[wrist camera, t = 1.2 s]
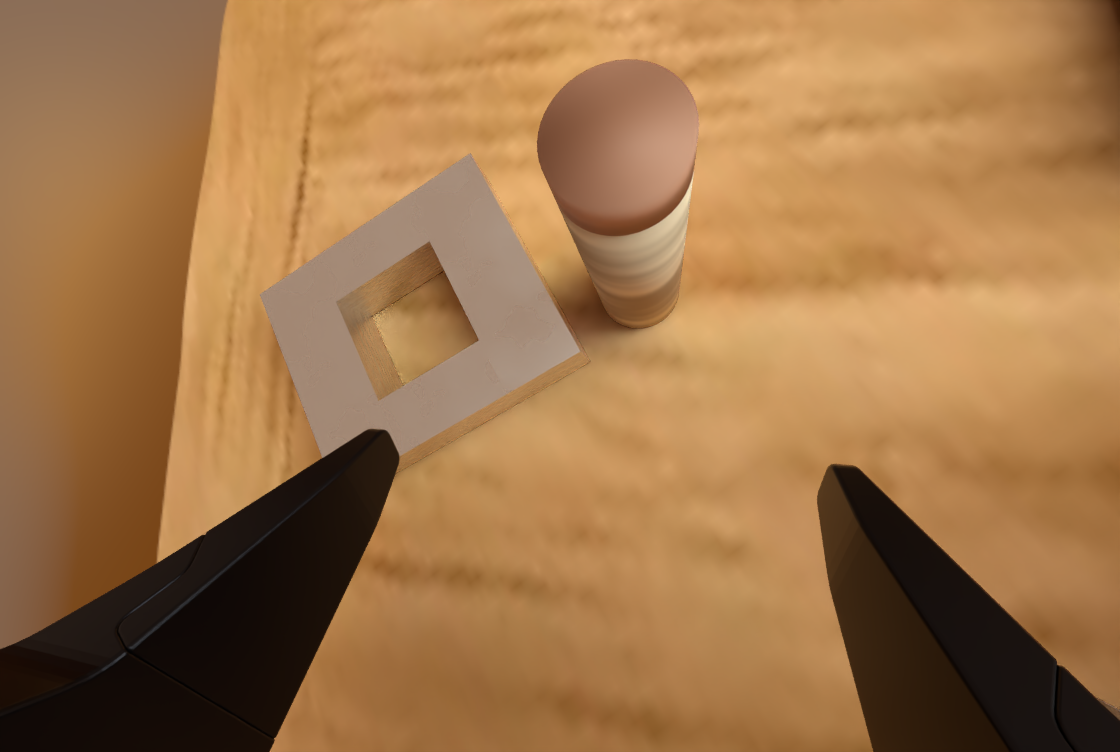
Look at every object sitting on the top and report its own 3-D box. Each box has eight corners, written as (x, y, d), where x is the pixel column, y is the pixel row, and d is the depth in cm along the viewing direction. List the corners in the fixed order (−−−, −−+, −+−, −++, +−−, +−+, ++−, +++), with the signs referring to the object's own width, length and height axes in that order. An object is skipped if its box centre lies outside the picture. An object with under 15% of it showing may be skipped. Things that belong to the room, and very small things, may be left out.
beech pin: (694, 302, 23) (732, 148, 10) (624, 342, 23) (582, 240, 11) (654, 239, 23) (645, 29, 11) (587, 279, 24) (511, 120, 12)
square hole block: (590, 361, 23) (580, 351, 20) (373, 486, 25) (335, 493, 22) (491, 184, 26) (470, 153, 23) (301, 309, 28) (259, 294, 25)
